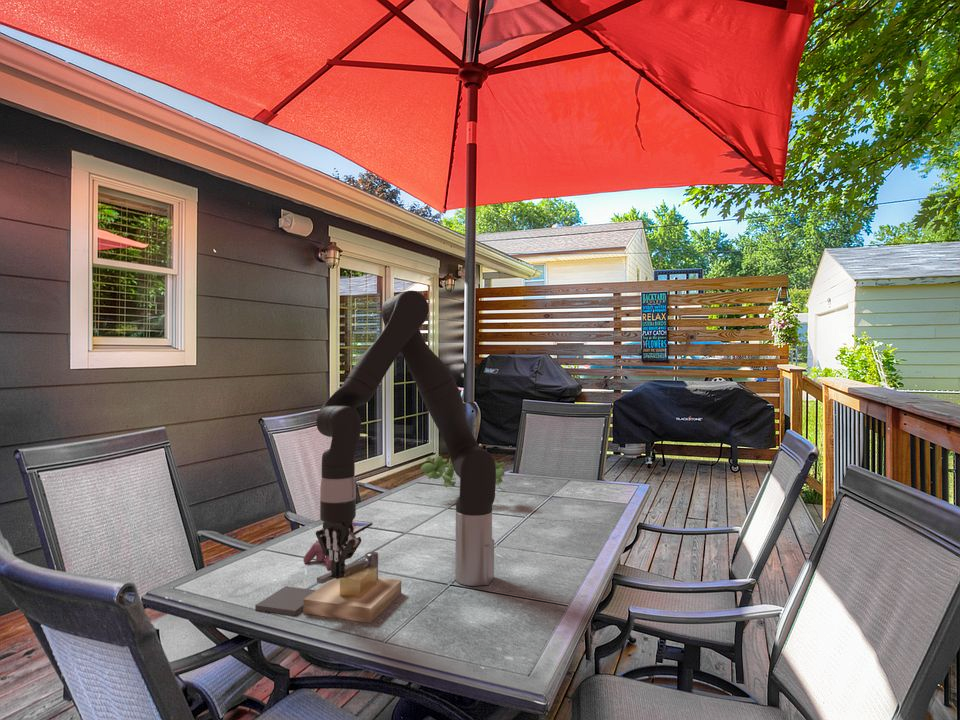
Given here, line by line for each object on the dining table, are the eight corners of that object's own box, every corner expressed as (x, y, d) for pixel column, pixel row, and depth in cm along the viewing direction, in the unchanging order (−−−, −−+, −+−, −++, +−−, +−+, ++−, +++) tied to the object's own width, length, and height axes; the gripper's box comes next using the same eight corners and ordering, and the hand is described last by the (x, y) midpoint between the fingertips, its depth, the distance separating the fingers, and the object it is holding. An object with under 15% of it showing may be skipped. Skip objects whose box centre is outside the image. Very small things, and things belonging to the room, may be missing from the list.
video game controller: (338, 571, 151) (347, 545, 154) (327, 569, 148) (336, 541, 150) (312, 565, 156) (320, 539, 159) (300, 562, 153) (309, 535, 155)
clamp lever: (371, 574, 136) (371, 551, 136) (380, 577, 135) (380, 553, 135) (314, 600, 122) (314, 573, 122) (323, 603, 120) (324, 576, 120)
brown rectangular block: (376, 584, 131) (376, 567, 131) (360, 598, 123) (360, 579, 124) (357, 582, 133) (357, 565, 133) (339, 595, 125) (339, 577, 125)
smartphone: (373, 522, 191) (350, 534, 177) (373, 525, 191) (350, 537, 177) (354, 520, 193) (330, 532, 179) (354, 523, 193) (329, 535, 179)
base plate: (401, 593, 134) (401, 580, 134) (370, 622, 118) (370, 608, 118) (340, 585, 138) (340, 573, 138) (303, 613, 123) (303, 599, 123)
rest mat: (322, 595, 132) (322, 591, 132) (295, 615, 122) (295, 610, 122) (285, 590, 135) (285, 586, 135) (255, 609, 124) (255, 605, 124)
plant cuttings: (431, 511, 232) (411, 487, 216) (441, 474, 242) (423, 448, 226) (512, 520, 220) (498, 496, 203) (520, 480, 230) (507, 454, 213)
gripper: (371, 498, 122) (371, 579, 122) (332, 490, 130) (332, 566, 130) (344, 504, 116) (344, 589, 116) (304, 496, 124) (304, 575, 124)
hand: (337, 577), depth 123 cm, fingers closed
